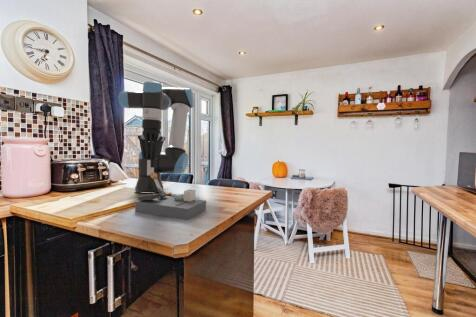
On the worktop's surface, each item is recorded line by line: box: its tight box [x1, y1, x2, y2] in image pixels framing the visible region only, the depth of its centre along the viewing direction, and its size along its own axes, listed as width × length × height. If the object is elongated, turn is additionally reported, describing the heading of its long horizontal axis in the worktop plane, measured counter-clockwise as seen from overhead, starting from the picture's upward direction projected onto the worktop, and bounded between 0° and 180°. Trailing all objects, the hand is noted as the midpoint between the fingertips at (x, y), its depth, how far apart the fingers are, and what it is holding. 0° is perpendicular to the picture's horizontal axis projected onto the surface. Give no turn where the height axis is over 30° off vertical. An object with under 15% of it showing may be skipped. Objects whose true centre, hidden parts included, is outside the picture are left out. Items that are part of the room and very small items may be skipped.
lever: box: [151, 173, 167, 198], centre depth 101 cm, size 3×3×11 cm
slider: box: [183, 189, 196, 202], centre depth 98 cm, size 4×3×4 cm
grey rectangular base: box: [134, 193, 207, 221], centre depth 96 cm, size 14×24×6 cm, turn 70°
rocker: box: [137, 193, 161, 201], centre depth 96 cm, size 5×7×2 cm
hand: (150, 174), depth 102 cm, fingers closed
